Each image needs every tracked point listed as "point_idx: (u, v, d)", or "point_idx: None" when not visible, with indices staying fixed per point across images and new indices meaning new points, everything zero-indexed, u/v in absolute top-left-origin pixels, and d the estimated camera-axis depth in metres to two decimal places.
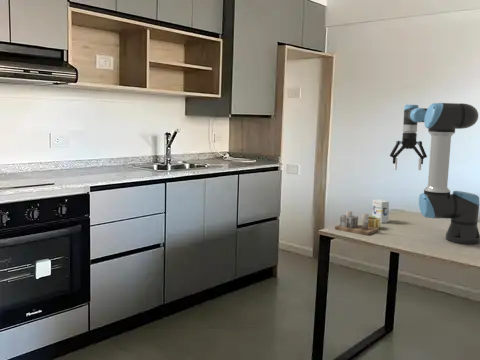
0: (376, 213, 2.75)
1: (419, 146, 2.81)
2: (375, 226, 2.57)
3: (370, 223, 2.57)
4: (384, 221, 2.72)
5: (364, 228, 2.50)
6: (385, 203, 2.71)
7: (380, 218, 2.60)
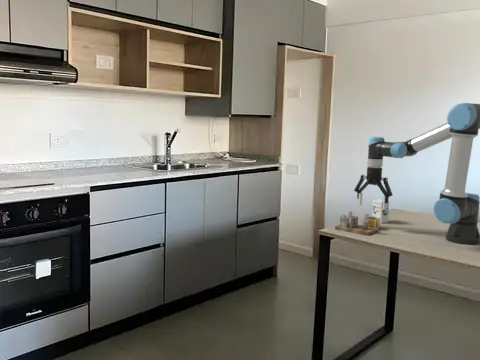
0: (376, 213, 2.75)
1: None
2: (375, 226, 2.57)
3: (370, 223, 2.57)
4: (384, 221, 2.72)
5: (364, 228, 2.50)
6: None
7: (380, 218, 2.60)
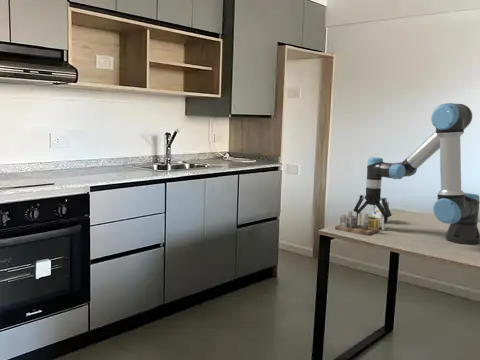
0: (376, 213, 2.75)
1: None
2: (375, 226, 2.57)
3: (370, 223, 2.57)
4: None
5: (364, 228, 2.50)
6: None
7: (380, 218, 2.60)
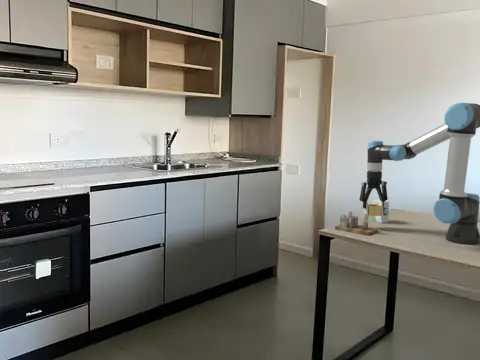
0: None
1: (382, 186, 2.60)
2: None
3: (378, 210, 2.55)
4: (384, 221, 2.72)
5: (364, 228, 2.50)
6: (385, 203, 2.71)
7: (377, 204, 2.62)
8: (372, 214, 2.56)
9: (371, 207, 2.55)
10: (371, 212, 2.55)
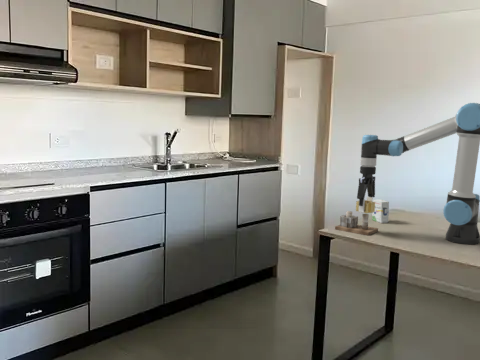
0: (376, 213, 2.75)
1: None
2: None
3: (372, 206, 2.48)
4: (384, 221, 2.72)
5: (364, 228, 2.50)
6: (385, 203, 2.71)
7: None
8: (368, 211, 2.46)
9: (368, 204, 2.45)
10: (368, 209, 2.46)
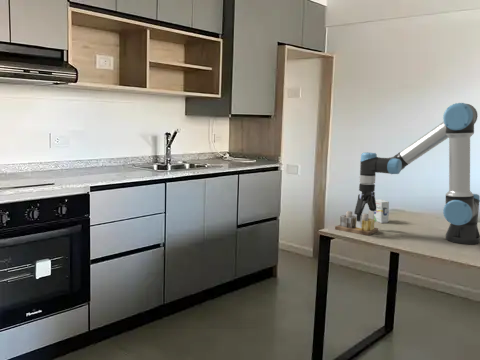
0: (376, 213, 2.75)
1: None
2: None
3: None
4: (384, 221, 2.72)
5: None
6: (385, 203, 2.71)
7: None
8: (368, 229, 2.47)
9: (367, 222, 2.46)
10: (367, 227, 2.47)
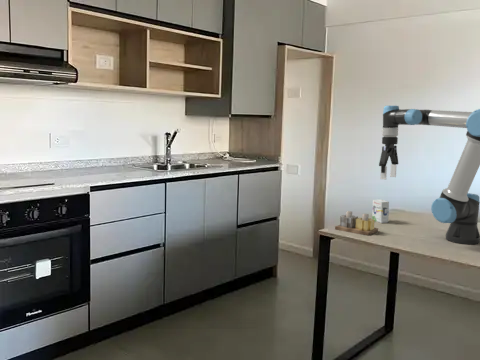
0: (376, 213, 2.75)
1: None
2: None
3: None
4: (384, 221, 2.72)
5: None
6: (385, 203, 2.71)
7: None
8: (368, 229, 2.47)
9: (367, 222, 2.46)
10: (367, 227, 2.47)
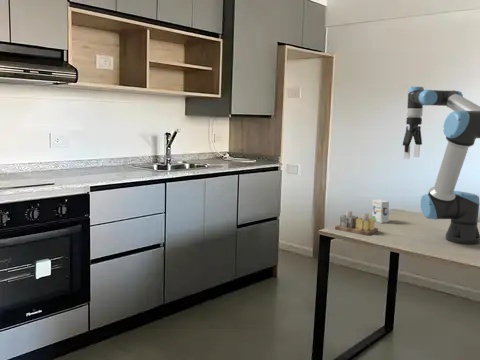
0: (376, 213, 2.75)
1: None
2: None
3: None
4: (384, 221, 2.72)
5: None
6: (385, 203, 2.71)
7: None
8: (368, 229, 2.47)
9: (367, 222, 2.46)
10: (367, 227, 2.47)
